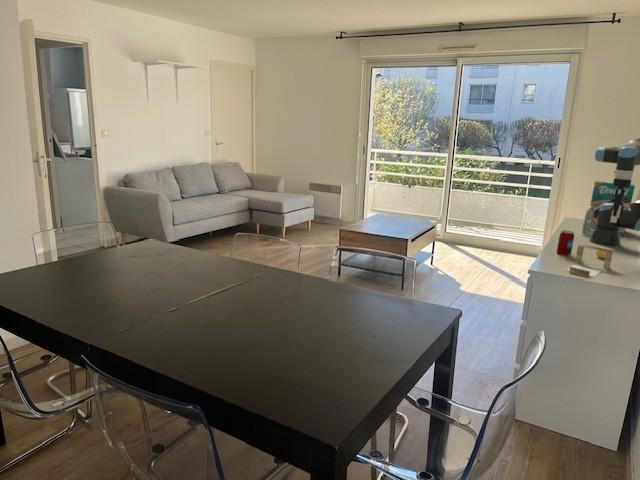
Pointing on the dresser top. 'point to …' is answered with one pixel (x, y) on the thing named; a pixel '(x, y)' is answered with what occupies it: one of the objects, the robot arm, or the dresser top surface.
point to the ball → (601, 254)
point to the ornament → (588, 218)
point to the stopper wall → (579, 271)
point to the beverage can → (565, 243)
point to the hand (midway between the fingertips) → (614, 219)
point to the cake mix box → (608, 198)
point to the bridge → (608, 250)
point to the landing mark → (592, 271)
